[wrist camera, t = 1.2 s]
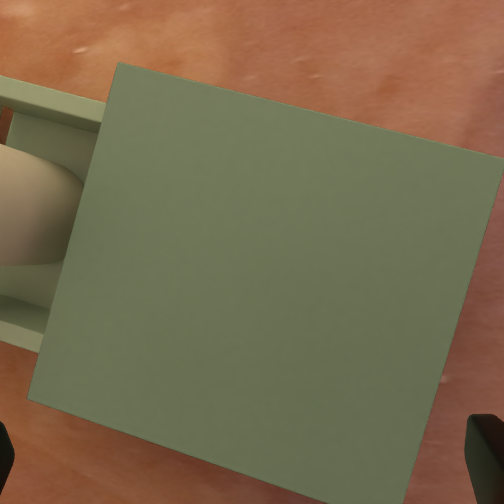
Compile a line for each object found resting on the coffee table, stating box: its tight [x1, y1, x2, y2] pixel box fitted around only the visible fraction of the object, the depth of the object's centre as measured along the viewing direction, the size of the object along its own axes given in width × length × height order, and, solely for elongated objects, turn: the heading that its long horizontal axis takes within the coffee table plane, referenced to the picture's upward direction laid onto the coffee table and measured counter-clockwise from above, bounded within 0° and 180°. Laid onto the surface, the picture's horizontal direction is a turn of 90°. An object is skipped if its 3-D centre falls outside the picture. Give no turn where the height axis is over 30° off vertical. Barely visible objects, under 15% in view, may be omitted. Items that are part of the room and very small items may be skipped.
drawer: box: [0, 75, 107, 353], centre depth 21 cm, size 17×11×5 cm
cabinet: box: [27, 62, 504, 504], centre depth 19 cm, size 14×13×7 cm
